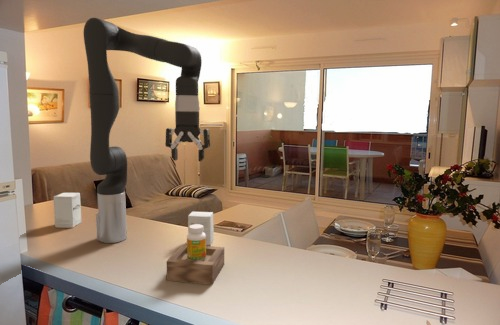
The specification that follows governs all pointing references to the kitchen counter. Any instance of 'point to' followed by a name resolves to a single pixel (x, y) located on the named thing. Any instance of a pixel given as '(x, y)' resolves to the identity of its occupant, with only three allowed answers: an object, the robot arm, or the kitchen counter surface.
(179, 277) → the walnut tray
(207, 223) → the small box
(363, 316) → the kitchen counter surface
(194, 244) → the supplement bottle
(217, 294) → the kitchen counter surface
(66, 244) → the kitchen counter surface
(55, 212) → the supplement box
